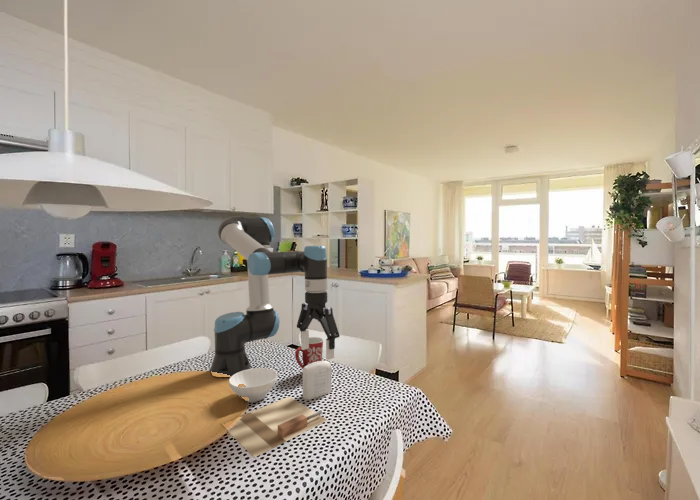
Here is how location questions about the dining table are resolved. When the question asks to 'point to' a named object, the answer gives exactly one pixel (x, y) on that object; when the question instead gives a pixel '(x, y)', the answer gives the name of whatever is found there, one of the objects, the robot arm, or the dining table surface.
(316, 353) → the mug
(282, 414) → the light wooden cutting board
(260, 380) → the bowl
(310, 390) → the photo printer
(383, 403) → the dining table surface
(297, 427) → the awl
